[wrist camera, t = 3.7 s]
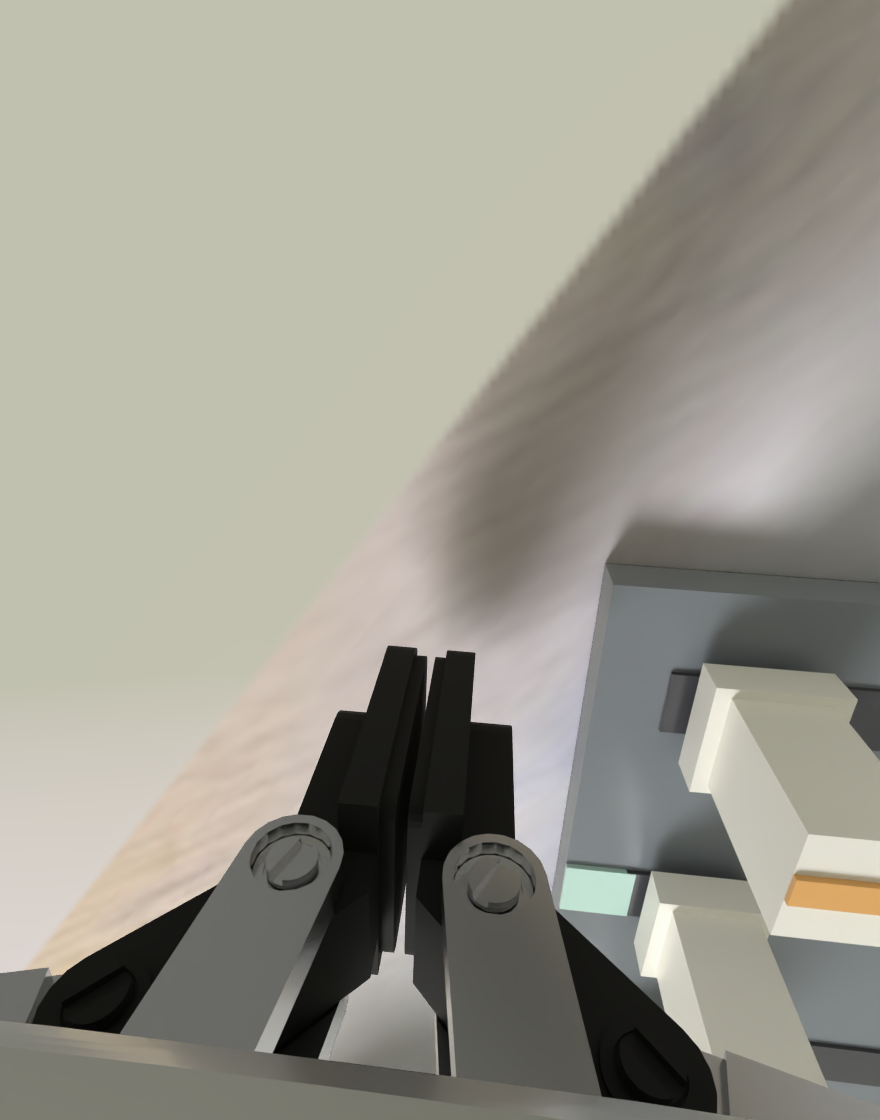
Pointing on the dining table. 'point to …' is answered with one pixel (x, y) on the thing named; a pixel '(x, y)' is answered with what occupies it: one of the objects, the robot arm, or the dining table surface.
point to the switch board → (692, 818)
